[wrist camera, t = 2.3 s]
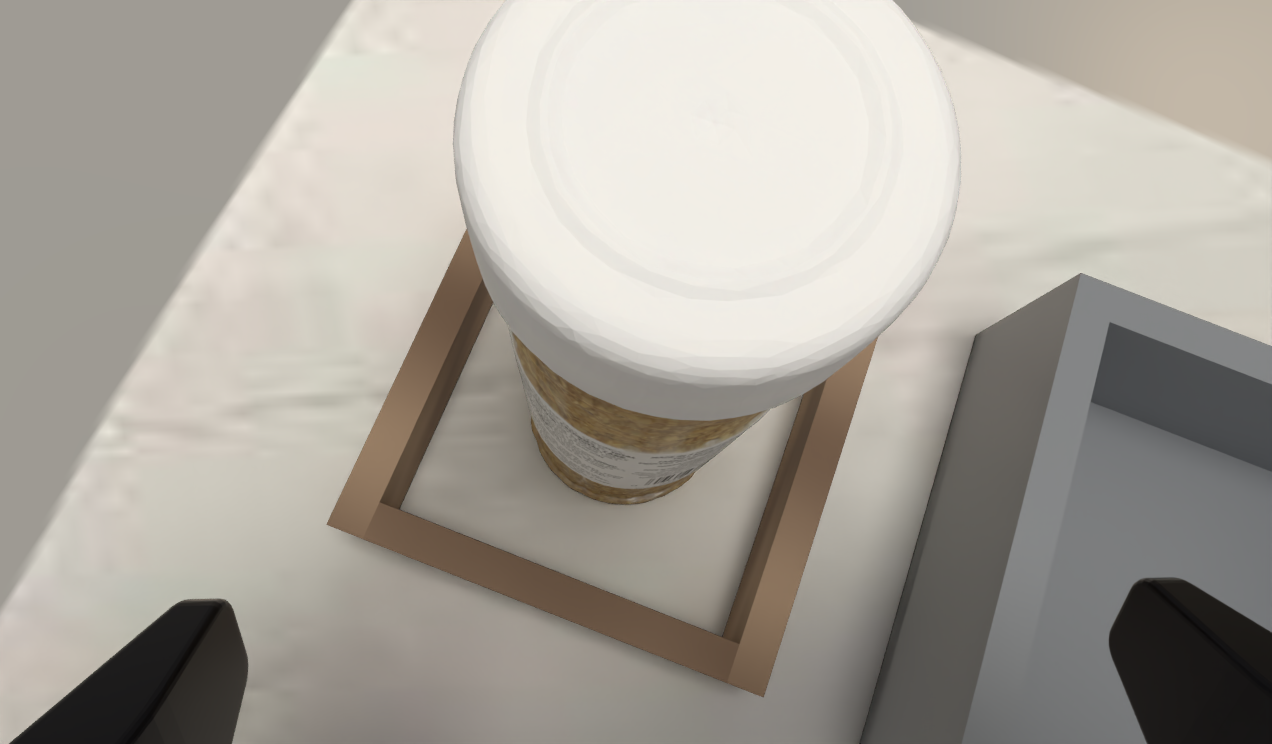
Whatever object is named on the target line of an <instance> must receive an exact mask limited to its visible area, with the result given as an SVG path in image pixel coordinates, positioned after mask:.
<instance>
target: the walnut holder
mask: <svg viewBox="0 0 1272 744" xmlns="http://www.w3.org/2000/svg"><path fill="white" fill-rule="evenodd" d="M492 303H493V301H492V299H491V296H490V294H489V292H488V290H487V288H486V286H485V283H484V280H483V278H482V275H481V272H480V269H479V266H478V264H477V261H476V258H475V254H474V251H473V247H472V244H471V241H470V237H469V234H468V230H467V229H466V231H465V233H464V236H463V238H462V240H461V242H460V244H459V246H458V248H457V250H456V252H455V255H454V257H453V259H452V261H451V263H450V265H449V267H448V269H447V271H446V274H445V276H444V278H443V280H442V282H441V284H440V286H439V288H438V290H437V293H436V295H435V297H434V299H433V301H432V303H431V305H430V307H429V309H428V312H427V314H426V316H425V318H424V320H423V322H422V324H421V326H420V328H419V331H418V333H417V335H416V337H415V339H414V341H413V343H412V345H411V347H410V349H409V352H408V354H407V356H406V358H405V360H404V362H403V364H402V366H401V368H400V371H399V373H398V375H397V377H396V379H395V381H394V383H393V385H392V387H391V390H390V392H389V394H388V396H387V398H386V400H385V402H384V404H383V406H382V409H381V411H380V413H379V415H378V417H377V419H376V421H375V423H374V425H373V428H372V430H371V432H370V434H369V436H368V438H367V440H366V442H365V444H364V446H363V449H362V451H361V453H360V455H359V457H358V459H357V461H356V463H355V465H354V468H353V470H352V472H351V474H350V476H349V478H348V480H347V482H346V484H345V487H344V489H343V491H342V493H341V495H340V497H339V499H338V501H337V503H336V506H335V508H334V510H333V512H332V514H331V516H330V518H329V520H328V522H327V525H329V526H331V527H334V528H336V529H339V530H341V531H344V532H347V533H349V534H352V535H354V536H357V537H359V538H362V539H364V540H367V541H369V542H372V543H374V544H377V545H379V546H382V547H384V548H387V549H389V550H392V551H395V552H397V553H400V554H402V555H405V556H407V557H410V558H412V559H415V560H417V561H420V562H422V563H425V564H427V565H430V566H432V567H435V568H438V569H440V570H443V571H445V572H448V573H450V574H453V575H455V576H458V577H460V578H463V579H465V580H468V581H470V582H473V583H475V584H478V585H480V586H483V587H486V588H488V589H491V590H493V591H496V592H498V593H501V594H503V595H506V596H508V597H511V598H513V599H516V600H518V601H521V602H523V603H526V604H529V605H531V606H534V607H536V608H539V609H541V610H544V611H546V612H549V613H551V614H554V615H556V616H559V617H561V618H564V619H566V620H569V621H571V622H574V623H577V624H579V625H582V626H584V627H587V628H589V629H592V630H594V631H597V632H599V633H602V634H604V635H607V636H609V637H612V638H614V639H617V640H620V641H622V642H625V643H627V644H630V645H632V646H635V647H637V648H640V649H642V650H645V651H647V652H650V653H652V654H655V655H657V656H660V657H662V658H665V659H668V660H670V661H673V662H675V663H678V664H680V665H683V666H685V667H688V668H690V669H693V670H695V671H698V672H700V673H703V674H705V675H708V676H711V677H713V678H716V679H718V680H721V681H723V682H726V683H728V684H731V685H733V686H736V687H738V688H741V689H743V690H746V691H748V692H751V693H753V694H756V695H759V696H761V697H764V694H765V691H766V688H767V685H768V682H769V679H770V675H771V672H772V669H773V666H774V663H775V660H776V656H777V653H778V650H779V647H780V644H781V641H782V638H783V634H784V631H785V628H786V625H787V622H788V619H789V616H790V612H791V609H792V606H793V603H794V600H795V597H796V593H797V590H798V587H799V584H800V581H801V578H802V575H803V571H804V568H805V565H806V562H807V559H808V556H809V552H810V549H811V546H812V543H813V540H814V537H815V534H816V530H817V527H818V524H819V521H820V518H821V515H822V512H823V508H824V505H825V502H826V499H827V496H828V493H829V489H830V486H831V483H832V480H833V477H834V474H835V471H836V467H837V464H838V461H839V458H840V455H841V452H842V448H843V445H844V442H845V439H846V436H847V433H848V430H849V426H850V423H851V420H852V417H853V414H854V411H855V408H856V404H857V401H858V398H859V395H860V392H861V389H862V385H863V382H864V379H865V376H866V373H867V370H868V367H869V363H870V360H871V357H872V354H873V351H874V348H875V344H876V341H877V338H878V337H877V338H876V339H875V340H874V341H873V342H872V343H870V344H869V345H868V346H867V347H866V348H865V349H863V350H862V351H861V352H860V353H859V354H858V355H857V356H855V357H854V358H853V359H852V360H850V361H849V362H848V363H847V364H845V365H844V366H843V367H842V368H840V369H839V370H838V371H836V372H835V373H834V374H833V375H831V376H830V377H829V378H828V379H826V380H825V381H824V382H822V383H821V384H819V385H817V386H816V387H814V388H812V389H811V390H809V391H808V392H806V393H804V395H803V398H802V401H801V404H800V407H799V410H798V413H797V416H796V419H795V422H794V425H793V428H792V431H791V434H790V437H789V440H788V443H787V446H786V449H785V452H784V455H783V458H782V461H781V464H780V467H779V470H778V473H777V475H776V478H775V481H774V484H773V487H772V490H771V493H770V496H769V499H768V502H767V505H766V508H765V511H764V514H763V517H762V520H761V523H760V526H759V529H758V532H757V535H756V538H755V541H754V544H753V547H752V550H751V553H750V556H749V559H748V562H747V565H746V568H745V571H744V574H743V577H742V580H741V583H740V586H739V589H738V592H737V595H736V598H735V601H734V604H733V606H732V609H731V612H730V615H729V618H728V621H727V624H726V627H725V630H724V633H723V636H722V637H721V636H718V635H716V634H713V633H711V632H708V631H706V630H703V629H701V628H698V627H696V626H693V625H691V624H688V623H685V622H683V621H680V620H678V619H675V618H673V617H670V616H668V615H665V614H663V613H660V612H658V611H655V610H653V609H650V608H647V607H645V606H642V605H640V604H637V603H635V602H632V601H630V600H627V599H625V598H622V597H620V596H617V595H615V594H612V593H609V592H607V591H604V590H602V589H599V588H597V587H594V586H592V585H589V584H587V583H584V582H582V581H579V580H577V579H574V578H571V577H569V576H566V575H564V574H561V573H559V572H556V571H554V570H551V569H549V568H546V567H544V566H541V565H539V564H536V563H533V562H531V561H528V560H526V559H523V558H521V557H518V556H516V555H513V554H511V553H508V552H506V551H503V550H501V549H498V548H495V547H493V546H490V545H488V544H485V543H483V542H480V541H478V540H475V539H473V538H470V537H468V536H465V535H463V534H460V533H457V532H455V531H452V530H450V529H447V528H445V527H442V526H440V525H437V524H435V523H432V522H430V521H427V520H425V519H422V518H419V517H417V516H414V515H412V514H409V513H407V512H404V511H402V510H399V508H400V506H401V504H402V502H403V500H404V497H405V495H406V493H407V491H408V488H409V486H410V484H411V482H412V480H413V477H414V475H415V473H416V471H417V469H418V466H419V464H420V462H421V460H422V458H423V455H424V453H425V451H426V449H427V447H428V444H429V442H430V440H431V438H432V436H433V433H434V431H435V429H436V427H437V425H438V422H439V420H440V418H441V416H442V413H443V411H444V409H445V407H446V405H447V402H448V400H449V398H450V396H451V394H452V391H453V389H454V387H455V385H456V383H457V380H458V378H459V376H460V374H461V372H462V369H463V367H464V365H465V363H466V361H467V358H468V356H469V354H470V352H471V349H472V347H473V345H474V343H475V341H476V338H477V336H478V334H479V332H480V330H481V327H482V325H483V323H484V321H485V319H486V316H487V314H488V312H489V310H490V308H491V305H492Z"/></svg>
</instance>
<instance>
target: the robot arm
mask: <svg viewBox="0 0 1272 744" xmlns="http://www.w3.org/2000/svg"><path fill="white" fill-rule="evenodd" d="M1108 639H1109V649H1110V654H1111V657H1112V660H1113V662H1114V665H1115V667H1116V670H1117V672H1118V674H1119V677H1120V679H1121V682H1122V684H1123V687H1124V689H1125V692H1126V694H1127V696H1128V699H1129V701H1130V704H1131V706H1132V709H1133V711H1134V714H1135V716H1136V718H1137V721H1138V723H1139V726H1140V728H1141V731H1142V733H1143V736H1144V738H1145V741H1146V743H1147V744H1272V632H1270V631H1269V630H1267V629H1266V628H1264V627H1262V626H1261V625H1259V624H1257V623H1256V622H1254V621H1252V620H1251V619H1249V618H1247V617H1246V616H1244V615H1243V614H1241V613H1239V612H1238V611H1236V610H1234V609H1233V608H1231V607H1229V606H1228V605H1226V604H1224V603H1223V602H1221V601H1219V600H1218V599H1216V598H1215V597H1213V596H1211V595H1210V594H1208V593H1206V592H1205V591H1203V590H1201V589H1200V588H1198V587H1196V586H1195V585H1193V584H1191V583H1190V582H1188V581H1186V580H1183V579H1181V578H1175V577H1162V578H1143V579H1140V580H1138V581H1137V582H1135V583H1134V584H1133V586H1132V587H1131V589H1130V591H1129V593H1128V595H1127V597H1126V599H1125V601H1124V603H1123V605H1122V607H1121V609H1120V611H1119V613H1118V615H1117V617H1116V619H1115V621H1114V623H1113V625H1112V627H1111V629H1110V632H1109V638H1108ZM247 676H248V657H247V653H246V650H245V646H244V643H243V640H242V637H241V633H240V630H239V627H238V624H237V620H236V617H235V614H234V611H233V608H232V606H231V605H230V603H229V602H228V601H226V600H223V599H188V600H183V601H181V602H179V603H177V604H175V605H174V606H172V607H171V608H170V609H169V610H167V611H166V612H165V613H164V614H163V615H161V616H160V617H159V618H158V619H157V620H156V621H154V622H153V623H152V624H151V625H150V626H148V627H147V628H146V629H145V630H144V631H142V632H141V633H140V634H139V635H138V636H137V637H135V638H134V639H133V640H132V641H131V642H129V643H128V644H127V645H126V646H125V647H123V648H122V649H121V650H120V651H119V652H117V653H116V654H115V655H114V656H113V657H112V658H110V659H109V660H108V661H107V662H106V663H104V664H103V665H102V666H101V667H100V668H98V669H97V670H96V671H95V672H94V673H93V674H91V675H90V676H89V677H88V678H87V679H85V680H84V681H83V682H82V683H81V684H79V685H78V686H77V687H76V688H75V689H73V690H72V691H71V692H70V693H69V694H68V695H66V696H65V697H64V698H63V699H62V700H60V701H59V702H58V703H57V704H56V705H54V706H53V707H52V708H51V709H50V710H49V711H47V712H46V713H45V714H44V715H43V716H41V717H40V718H39V719H38V720H37V721H35V722H34V723H33V724H32V725H31V726H29V727H28V728H27V729H26V730H25V731H24V732H22V733H21V734H20V735H19V736H18V737H16V738H15V739H14V740H13V741H12V742H10V743H9V744H232V741H233V737H234V733H235V728H236V724H237V720H238V716H239V712H240V707H241V703H242V699H243V695H244V691H245V687H246V682H247Z"/></svg>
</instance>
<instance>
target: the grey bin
mask: <svg viewBox="0 0 1272 744" xmlns="http://www.w3.org/2000/svg"><path fill="white" fill-rule="evenodd" d="M1162 577H1175V578H1181V579H1183V580H1186V581H1188V582H1190V583H1191V584H1193V585H1195V586H1196V587H1198V588H1200V589H1201V590H1203V591H1205V592H1206V593H1208V594H1210V595H1211V596H1213V597H1215V598H1216V599H1218V600H1219V601H1221V602H1223V603H1224V604H1226V605H1228V606H1229V607H1231V608H1233V609H1234V610H1236V611H1238V612H1239V613H1241V614H1243V615H1244V616H1246V617H1247V618H1249V619H1251V620H1252V621H1254V622H1256V623H1257V624H1259V625H1261V626H1262V627H1264V628H1266V629H1267V630H1269V631H1270V632H1272V346H1270V345H1267V344H1264V343H1262V342H1259V341H1257V340H1254V339H1251V338H1249V337H1246V336H1244V335H1241V334H1238V333H1236V332H1233V331H1231V330H1228V329H1225V328H1223V327H1220V326H1218V325H1215V324H1212V323H1210V322H1207V321H1205V320H1202V319H1199V318H1197V317H1194V316H1192V315H1189V314H1187V313H1184V312H1181V311H1179V310H1176V309H1174V308H1171V307H1168V306H1166V305H1163V304H1161V303H1158V302H1155V301H1153V300H1150V299H1148V298H1145V297H1142V296H1140V295H1137V294H1135V293H1132V292H1129V291H1127V290H1124V289H1122V288H1119V287H1116V286H1114V285H1111V284H1109V283H1106V282H1103V281H1101V280H1098V279H1096V278H1093V277H1090V276H1088V275H1085V274H1083V273H1080V274H1079V275H1077V276H1075V277H1073V278H1072V279H1070V280H1068V281H1067V282H1065V283H1063V284H1062V285H1060V286H1058V287H1056V288H1055V289H1053V290H1051V291H1050V292H1048V293H1046V294H1045V295H1043V296H1041V297H1039V298H1038V299H1036V300H1034V301H1033V302H1031V303H1029V304H1028V305H1026V306H1024V307H1022V308H1021V309H1019V310H1017V311H1016V312H1014V313H1012V314H1011V315H1009V316H1007V317H1006V318H1004V319H1002V320H1000V321H999V322H997V323H995V324H994V325H992V326H990V327H989V328H987V329H985V330H983V331H982V332H980V333H978V334H977V335H976V337H975V340H974V344H973V347H972V351H971V354H970V358H969V361H968V365H967V368H966V372H965V375H964V379H963V382H962V386H961V389H960V393H959V396H958V400H957V403H956V407H955V410H954V414H953V417H952V421H951V424H950V428H949V432H948V435H947V439H946V442H945V446H944V449H943V453H942V456H941V460H940V463H939V467H938V470H937V474H936V477H935V481H934V484H933V488H932V491H931V495H930V498H929V502H928V505H927V509H926V512H925V516H924V519H923V523H922V527H921V530H920V534H919V537H918V541H917V544H916V548H915V551H914V555H913V558H912V562H911V565H910V569H909V572H908V576H907V579H906V583H905V586H904V590H903V593H902V597H901V600H900V604H899V607H898V611H897V614H896V618H895V621H894V625H893V629H892V632H891V636H890V639H889V643H888V646H887V650H886V653H885V657H884V660H883V664H882V667H881V671H880V674H879V678H878V681H877V685H876V688H875V692H874V695H873V699H872V702H871V706H870V709H869V713H868V716H867V720H866V724H865V727H864V731H863V734H862V738H861V741H860V744H1147V743H1146V741H1145V738H1144V736H1143V733H1142V731H1141V728H1140V726H1139V723H1138V721H1137V718H1136V716H1135V714H1134V711H1133V709H1132V706H1131V704H1130V701H1129V699H1128V696H1127V694H1126V692H1125V689H1124V687H1123V684H1122V682H1121V679H1120V677H1119V674H1118V672H1117V670H1116V667H1115V665H1114V662H1113V660H1112V657H1111V654H1110V649H1109V639H1108V638H1109V632H1110V629H1111V627H1112V625H1113V623H1114V621H1115V619H1116V617H1117V615H1118V613H1119V611H1120V609H1121V607H1122V605H1123V603H1124V601H1125V599H1126V597H1127V595H1128V593H1129V591H1130V589H1131V587H1132V586H1133V584H1134V583H1135V582H1137V581H1138V580H1140V579H1143V578H1162Z"/></svg>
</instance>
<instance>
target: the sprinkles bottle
mask: <svg viewBox="0 0 1272 744" xmlns="http://www.w3.org/2000/svg"><path fill="white" fill-rule="evenodd" d="M453 149H454V162H455V175H456V183H457V188H458V192H459V196H460V201H461V205H462V210H463V214H464V218H465V223H466V227H467V230H468V234H469V237H470V241H471V244H472V247H473V251H474V254H475V258H476V261H477V264H478V266H479V269H480V272H481V275H482V278H483V280H484V283H485V286H486V288H487V290H488V292H489V294H490V296H491V299H492V301H493V302H494V304H495V306H496V308H497V309H498V311H499V313H500V314H501V316H502V317H503V319H504V320H505V322H506V323H507V325H508V326H509V331H510V336H511V340H512V344H513V348H514V352H515V356H516V360H517V363H518V367H519V371H520V374H521V378H522V382H523V386H524V390H525V394H526V398H527V402H528V406H529V409H530V413H531V426H532V431H533V434H534V436H535V438H536V441H537V443H538V447H539V451H540V453H541V454H542V456H543V458H544V460H545V461H546V463H547V464H548V466H549V467H550V469H551V470H552V471H553V472H554V473H555V474H556V475H557V476H558V477H559V478H560V479H561V480H562V481H563V482H564V483H565V484H566V485H568V486H569V487H570V488H571V489H573V490H576V491H578V492H580V493H582V494H584V495H586V496H588V497H590V498H593V499H595V500H599V501H602V502H607V503H613V504H637V503H644V502H647V501H650V500H653V499H655V498H658V497H662V496H664V495H666V494H668V493H669V492H671V491H673V490H675V489H677V488H679V487H680V486H682V485H683V484H684V483H685V482H687V481H688V480H689V479H690V478H691V477H692V475H693V474H694V473H695V471H696V470H698V469H699V468H700V467H702V466H703V465H704V464H706V463H707V462H708V461H709V460H711V459H712V458H713V457H714V456H716V455H717V454H718V453H719V452H721V451H722V450H723V449H724V448H726V447H727V446H728V445H729V444H730V443H732V442H733V441H734V440H735V439H736V438H738V437H739V436H740V435H741V434H742V433H744V432H745V431H746V430H747V429H748V428H750V427H751V426H752V425H754V424H755V423H756V422H757V421H759V420H760V419H761V418H762V417H763V416H764V415H765V414H766V413H767V412H768V411H769V410H770V409H771V408H775V407H777V406H779V405H781V404H784V403H786V402H788V401H790V400H792V399H794V398H797V397H799V396H801V395H803V394H804V393H806V392H808V391H809V390H811V389H812V388H814V387H816V386H817V385H819V384H821V383H822V382H824V381H825V380H826V379H828V378H829V377H830V376H831V375H833V374H834V373H835V372H836V371H838V370H839V369H840V368H842V367H843V366H844V365H845V364H847V363H848V362H849V361H850V360H852V359H853V358H854V357H855V356H857V355H858V354H859V353H860V352H861V351H862V350H863V349H865V348H866V347H867V346H868V345H869V344H870V343H872V342H873V341H874V340H875V339H876V338H877V337H878V336H879V335H880V334H881V333H882V332H883V331H884V330H886V329H887V328H888V327H889V326H890V325H891V324H892V323H893V322H894V321H895V320H896V319H897V318H898V316H899V315H900V314H901V313H902V312H903V311H904V310H905V309H906V308H907V306H908V305H909V304H910V303H911V302H912V301H913V300H914V299H915V297H916V296H917V295H918V293H919V292H920V290H921V289H922V288H923V286H924V285H925V283H926V282H927V280H928V278H929V276H930V275H931V273H932V271H933V269H934V267H935V265H936V263H937V262H938V259H939V257H940V255H941V253H942V251H943V249H944V247H945V245H946V243H947V241H948V238H949V235H950V231H951V228H952V225H953V221H954V217H955V213H956V208H957V202H958V196H959V190H960V184H961V144H960V135H959V127H958V122H957V118H956V113H955V109H954V105H953V102H952V98H951V95H950V92H949V90H948V87H947V84H946V82H945V79H944V76H943V74H942V71H941V69H940V67H939V65H938V63H937V61H936V59H935V58H934V56H933V54H932V52H931V50H930V48H929V47H928V45H927V43H926V42H925V40H924V39H923V37H922V36H921V34H920V33H919V31H918V29H917V28H916V27H915V26H914V24H913V23H912V22H911V21H910V19H909V18H908V17H907V16H906V14H905V13H904V12H903V11H902V9H901V8H900V7H899V6H898V5H897V4H896V3H895V2H894V1H893V0H506V1H505V2H504V3H503V4H502V6H501V7H500V8H499V10H498V11H497V12H496V14H495V15H494V16H493V17H492V19H491V20H490V22H489V23H488V25H487V26H486V28H485V30H484V31H483V33H482V35H481V37H480V38H479V40H478V42H477V44H476V45H475V47H474V50H473V52H472V54H471V57H470V59H469V62H468V64H467V68H466V71H465V74H464V77H463V80H462V84H461V88H460V91H459V95H458V99H457V105H456V112H455V119H454V134H453Z"/></svg>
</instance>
